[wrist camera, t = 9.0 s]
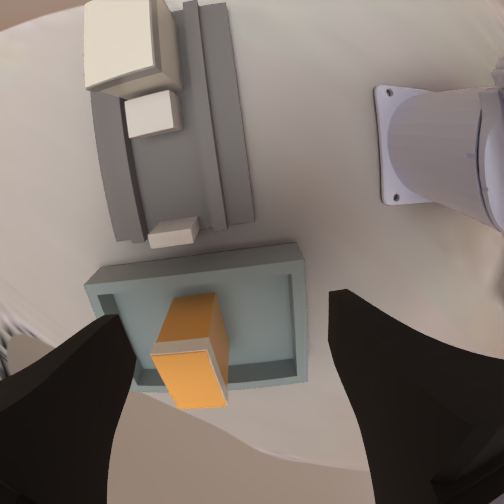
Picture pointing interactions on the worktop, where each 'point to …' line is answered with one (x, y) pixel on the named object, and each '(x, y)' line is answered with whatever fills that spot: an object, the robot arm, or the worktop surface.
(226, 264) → the slate tray
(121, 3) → the cream rectangular block
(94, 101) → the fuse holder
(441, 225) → the worktop surface
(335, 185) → the worktop surface
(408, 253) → the worktop surface
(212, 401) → the block
